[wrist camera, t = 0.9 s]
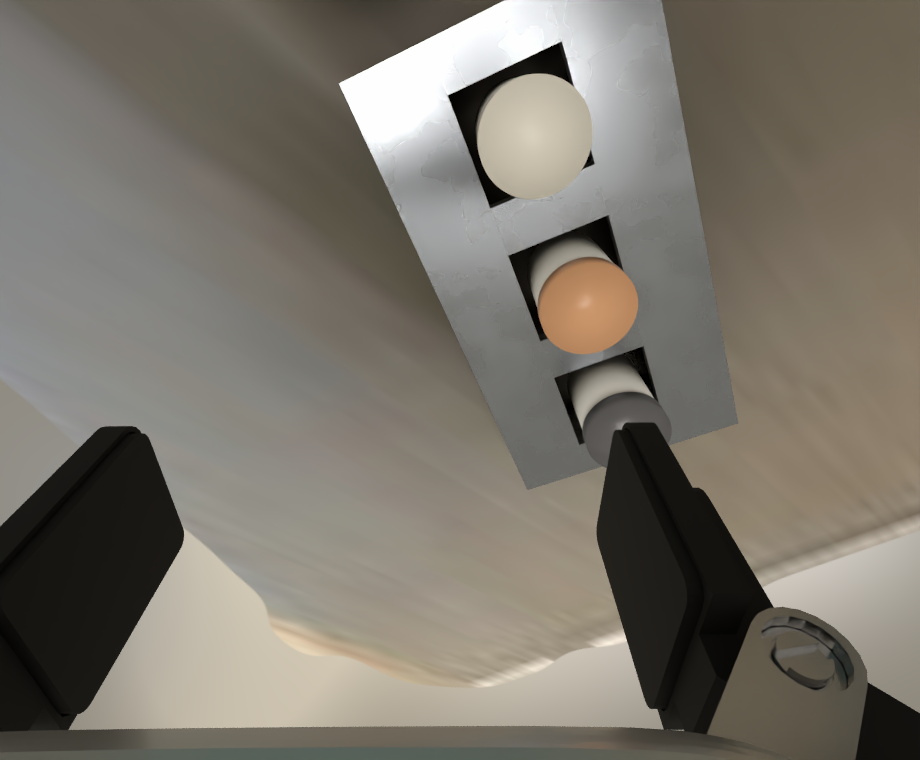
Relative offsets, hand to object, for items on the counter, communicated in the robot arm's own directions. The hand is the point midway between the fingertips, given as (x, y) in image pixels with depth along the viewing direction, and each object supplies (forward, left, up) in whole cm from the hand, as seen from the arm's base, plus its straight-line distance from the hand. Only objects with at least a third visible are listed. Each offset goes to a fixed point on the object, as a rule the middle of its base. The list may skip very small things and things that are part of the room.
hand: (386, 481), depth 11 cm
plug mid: (-6, +5, -21) cm, 22 cm away
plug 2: (-6, +13, -21) cm, 25 cm away
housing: (-6, +5, -25) cm, 26 cm away
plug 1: (-6, -3, -21) cm, 22 cm away
